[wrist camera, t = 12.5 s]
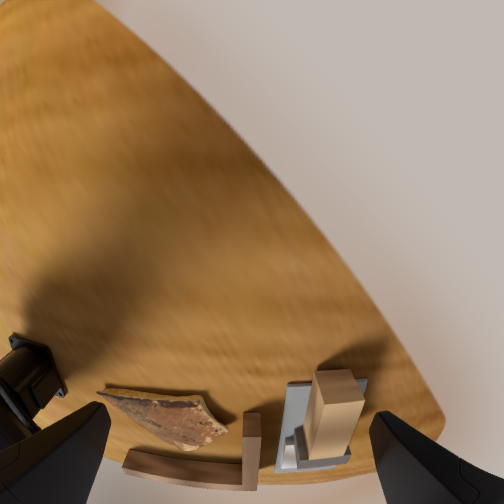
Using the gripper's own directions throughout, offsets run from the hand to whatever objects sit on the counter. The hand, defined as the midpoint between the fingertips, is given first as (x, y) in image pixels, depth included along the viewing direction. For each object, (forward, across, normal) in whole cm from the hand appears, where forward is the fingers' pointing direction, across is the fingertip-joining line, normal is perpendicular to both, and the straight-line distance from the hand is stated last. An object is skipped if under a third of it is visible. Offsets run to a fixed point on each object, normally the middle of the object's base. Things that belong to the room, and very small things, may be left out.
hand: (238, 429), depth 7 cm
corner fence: (+12, +6, +17) cm, 22 cm away
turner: (+12, -7, +14) cm, 19 cm away
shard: (+13, +7, +14) cm, 20 cm away
